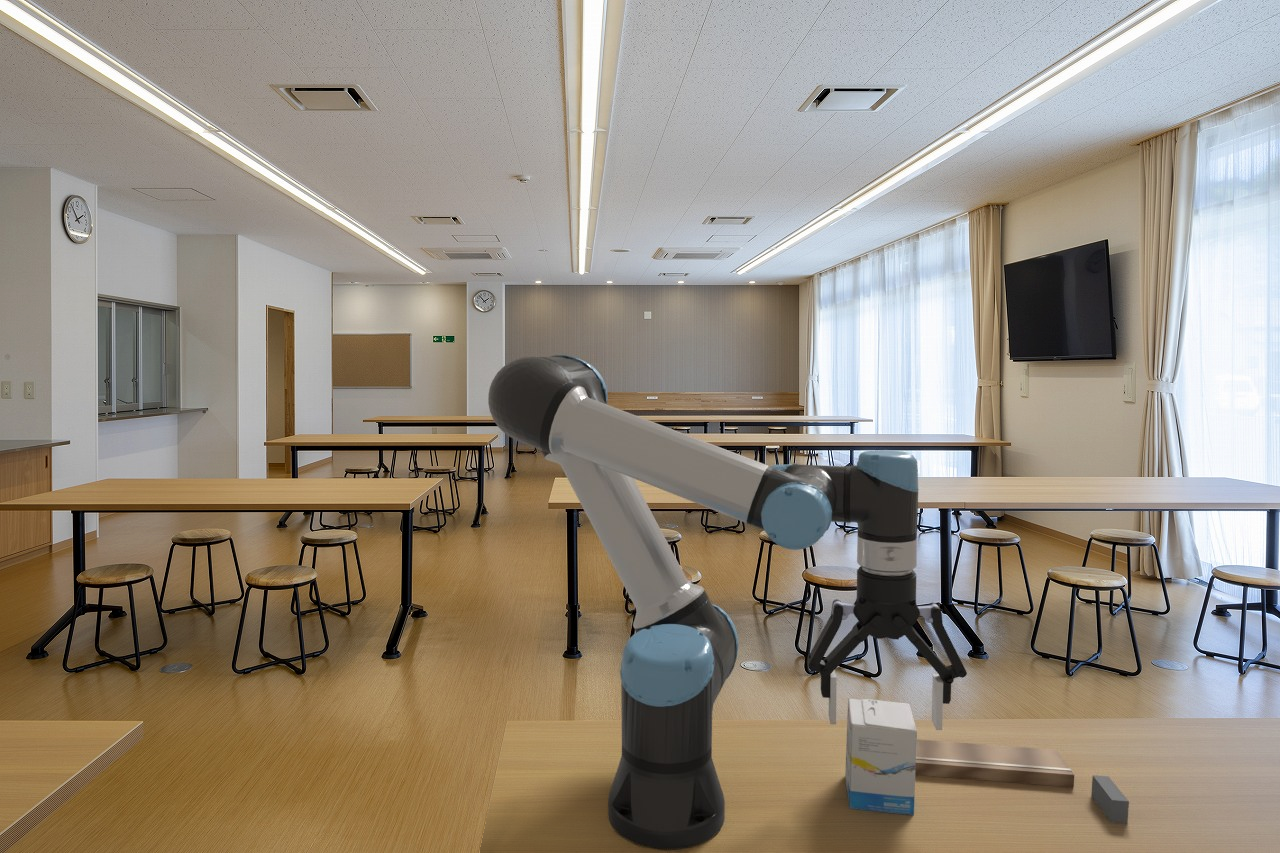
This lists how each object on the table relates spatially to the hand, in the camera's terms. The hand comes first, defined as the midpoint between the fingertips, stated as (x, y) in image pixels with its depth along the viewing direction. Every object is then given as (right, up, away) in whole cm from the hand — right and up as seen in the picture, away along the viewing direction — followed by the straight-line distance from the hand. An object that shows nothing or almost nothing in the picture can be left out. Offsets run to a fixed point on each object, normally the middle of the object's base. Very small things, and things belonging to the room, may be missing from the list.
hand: (884, 722), depth 106 cm
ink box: (0, -10, +1) cm, 11 cm away
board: (+15, -10, +8) cm, 19 cm away
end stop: (+29, -11, -2) cm, 31 cm away
